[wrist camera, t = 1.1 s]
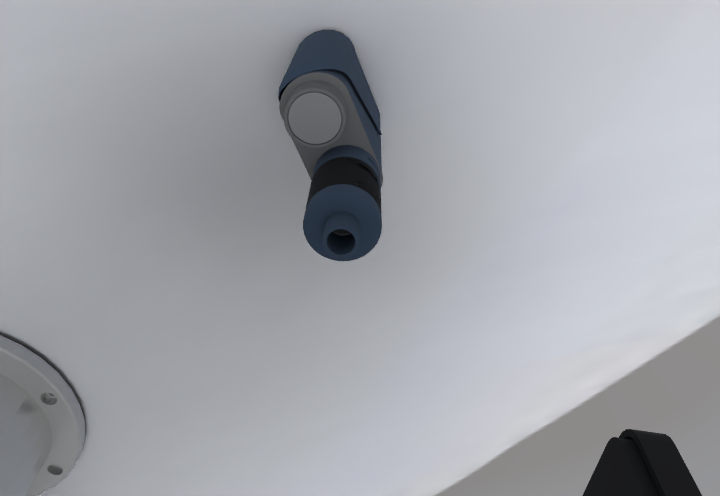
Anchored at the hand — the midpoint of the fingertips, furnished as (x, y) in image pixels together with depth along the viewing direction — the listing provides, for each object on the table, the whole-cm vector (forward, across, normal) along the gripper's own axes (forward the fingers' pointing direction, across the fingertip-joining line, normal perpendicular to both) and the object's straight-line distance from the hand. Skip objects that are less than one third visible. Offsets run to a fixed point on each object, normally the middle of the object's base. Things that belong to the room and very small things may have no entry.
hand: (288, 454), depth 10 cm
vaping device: (+22, 0, 0) cm, 22 cm away
